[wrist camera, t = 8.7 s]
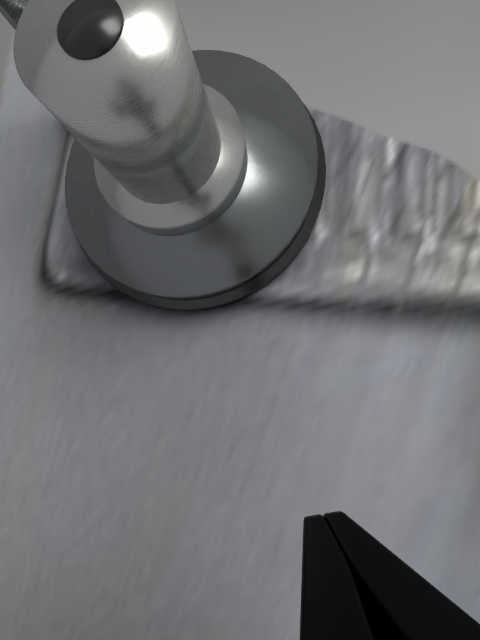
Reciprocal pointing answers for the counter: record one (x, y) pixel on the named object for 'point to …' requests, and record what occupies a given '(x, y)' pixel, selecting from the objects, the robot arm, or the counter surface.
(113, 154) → the cover
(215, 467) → the counter surface
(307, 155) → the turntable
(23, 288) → the counter surface
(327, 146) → the counter surface
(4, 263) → the counter surface
